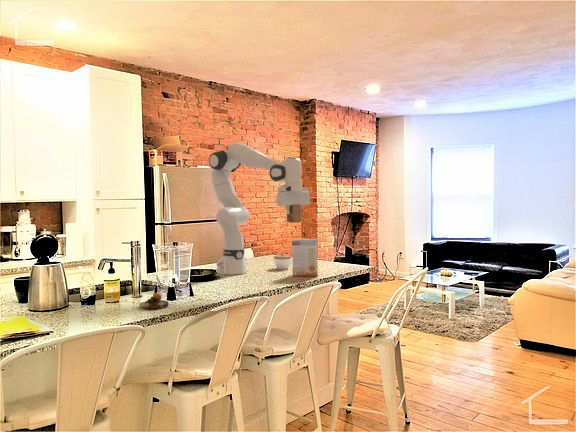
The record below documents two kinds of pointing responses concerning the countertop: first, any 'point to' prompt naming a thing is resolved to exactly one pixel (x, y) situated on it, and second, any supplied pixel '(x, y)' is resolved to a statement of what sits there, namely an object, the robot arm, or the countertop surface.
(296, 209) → the walnut block
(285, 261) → the lidded jar
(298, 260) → the cracker box
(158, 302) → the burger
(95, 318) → the countertop surface
